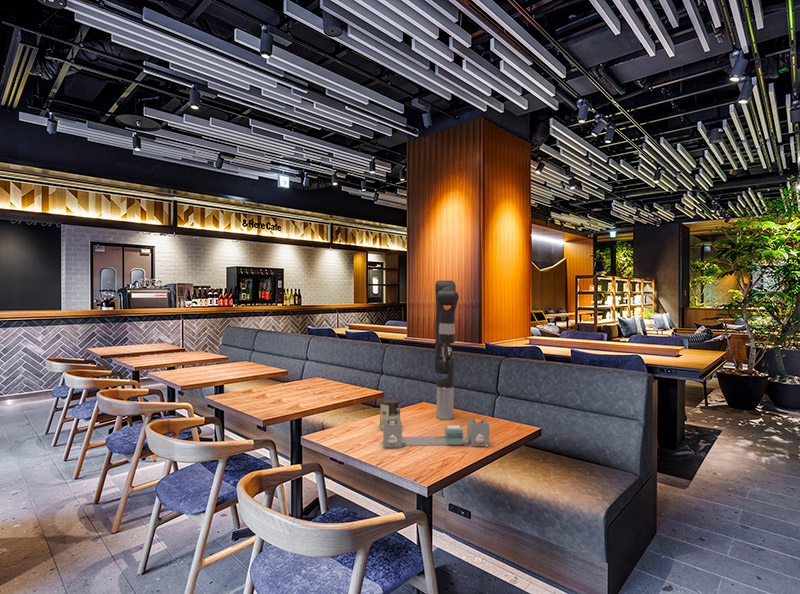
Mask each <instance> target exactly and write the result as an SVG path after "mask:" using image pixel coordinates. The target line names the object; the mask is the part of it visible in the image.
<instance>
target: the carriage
mask: <svg viewBox="0 0 800 594" xmlns="http://www.w3.org/2000/svg"><path fill="white" fill-rule="evenodd" d="M463 430H464V429H463V428H462V426H461V425H444V436H446V438H447V443H463V436H464V433H463Z"/></svg>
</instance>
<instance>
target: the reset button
mask: <svg viewBox="0 0 800 594" xmlns="http://www.w3.org/2000/svg"><path fill="white" fill-rule="evenodd" d="M474 419H475V423H481V419H482V418H474Z"/></svg>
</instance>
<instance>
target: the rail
mask: <svg viewBox="0 0 800 594" xmlns="http://www.w3.org/2000/svg"><path fill="white" fill-rule="evenodd" d="M407 446H409V447H412V446H415V447H417V446H419V447H420V446H463V447H469V443H468V438H467V435H463V443H447V438H446V436H445V435H441V436H440V435H438V436H436V435H435V436H426V435H424V436H402V448H406V447H407Z"/></svg>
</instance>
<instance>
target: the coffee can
mask: <svg viewBox="0 0 800 594" xmlns="http://www.w3.org/2000/svg"><path fill="white" fill-rule="evenodd" d="M383 420H401V399H399V398H395V397H387V398H382V399H380V400H379V429H380V431H383Z"/></svg>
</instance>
